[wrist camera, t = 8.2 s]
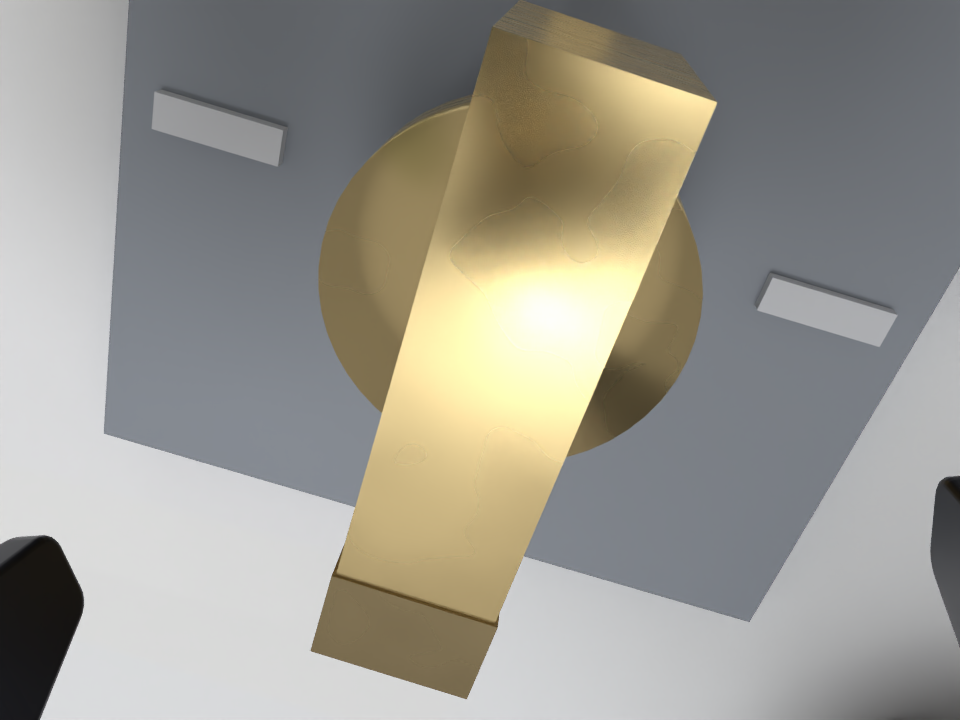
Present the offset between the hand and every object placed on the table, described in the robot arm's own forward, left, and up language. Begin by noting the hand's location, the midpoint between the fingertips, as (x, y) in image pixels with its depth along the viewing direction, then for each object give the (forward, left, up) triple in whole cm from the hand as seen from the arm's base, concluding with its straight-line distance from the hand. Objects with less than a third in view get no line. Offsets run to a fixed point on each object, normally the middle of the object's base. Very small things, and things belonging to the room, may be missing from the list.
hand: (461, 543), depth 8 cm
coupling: (0, 0, -8) cm, 8 cm away
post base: (0, 0, -12) cm, 12 cm away
